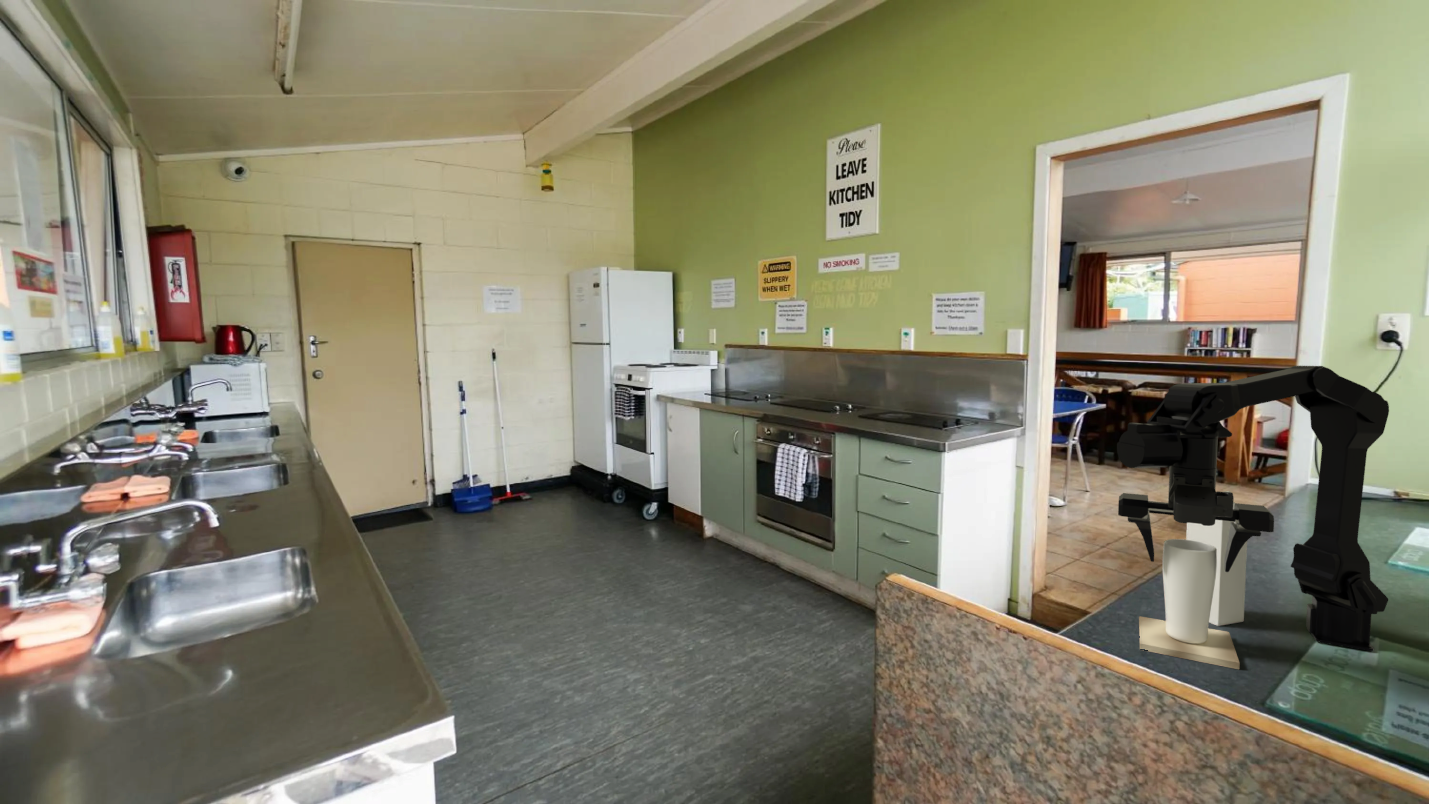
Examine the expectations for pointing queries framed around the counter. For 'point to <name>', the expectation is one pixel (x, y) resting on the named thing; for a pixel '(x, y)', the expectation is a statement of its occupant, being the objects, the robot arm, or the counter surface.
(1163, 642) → the birch board
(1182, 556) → the drinking glass
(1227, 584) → the milk
